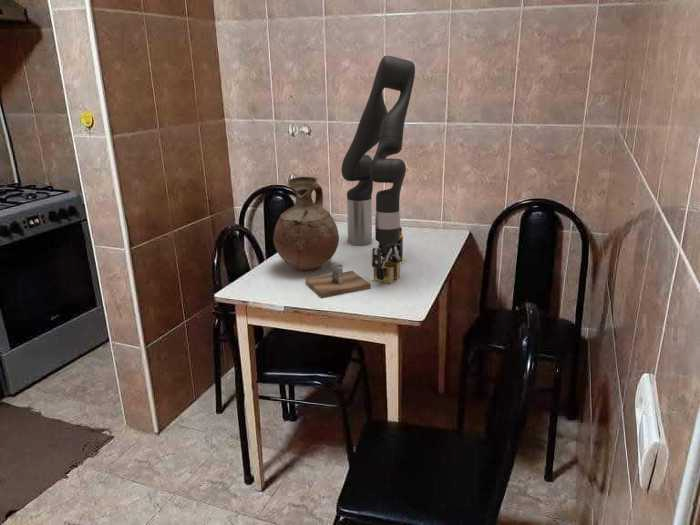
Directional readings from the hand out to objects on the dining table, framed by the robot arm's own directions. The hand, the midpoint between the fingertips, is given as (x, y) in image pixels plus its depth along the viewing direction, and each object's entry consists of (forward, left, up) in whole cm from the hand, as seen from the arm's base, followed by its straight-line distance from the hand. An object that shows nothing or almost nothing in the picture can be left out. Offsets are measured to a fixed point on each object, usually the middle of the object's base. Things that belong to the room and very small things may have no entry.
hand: (387, 275), depth 167 cm
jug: (-23, -18, -2) cm, 29 cm away
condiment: (-15, +10, -2) cm, 18 cm away
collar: (0, 0, -1) cm, 1 cm away
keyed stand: (-2, -16, -1) cm, 16 cm away
